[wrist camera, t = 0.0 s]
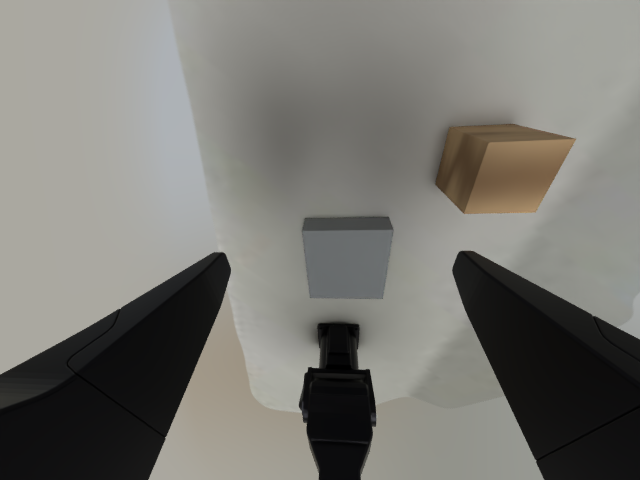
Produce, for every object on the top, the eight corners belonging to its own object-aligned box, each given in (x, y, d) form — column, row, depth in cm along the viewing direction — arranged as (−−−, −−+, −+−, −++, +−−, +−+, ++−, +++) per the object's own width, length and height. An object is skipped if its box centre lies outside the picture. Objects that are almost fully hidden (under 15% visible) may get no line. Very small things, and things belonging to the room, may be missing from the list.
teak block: (489, 182, 21) (535, 212, 16) (434, 184, 22) (463, 213, 17) (512, 123, 19) (576, 138, 14) (449, 126, 19) (488, 142, 14)
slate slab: (379, 281, 30) (382, 298, 28) (312, 280, 31) (309, 297, 28) (387, 215, 24) (393, 229, 22) (305, 216, 25) (302, 230, 23)
